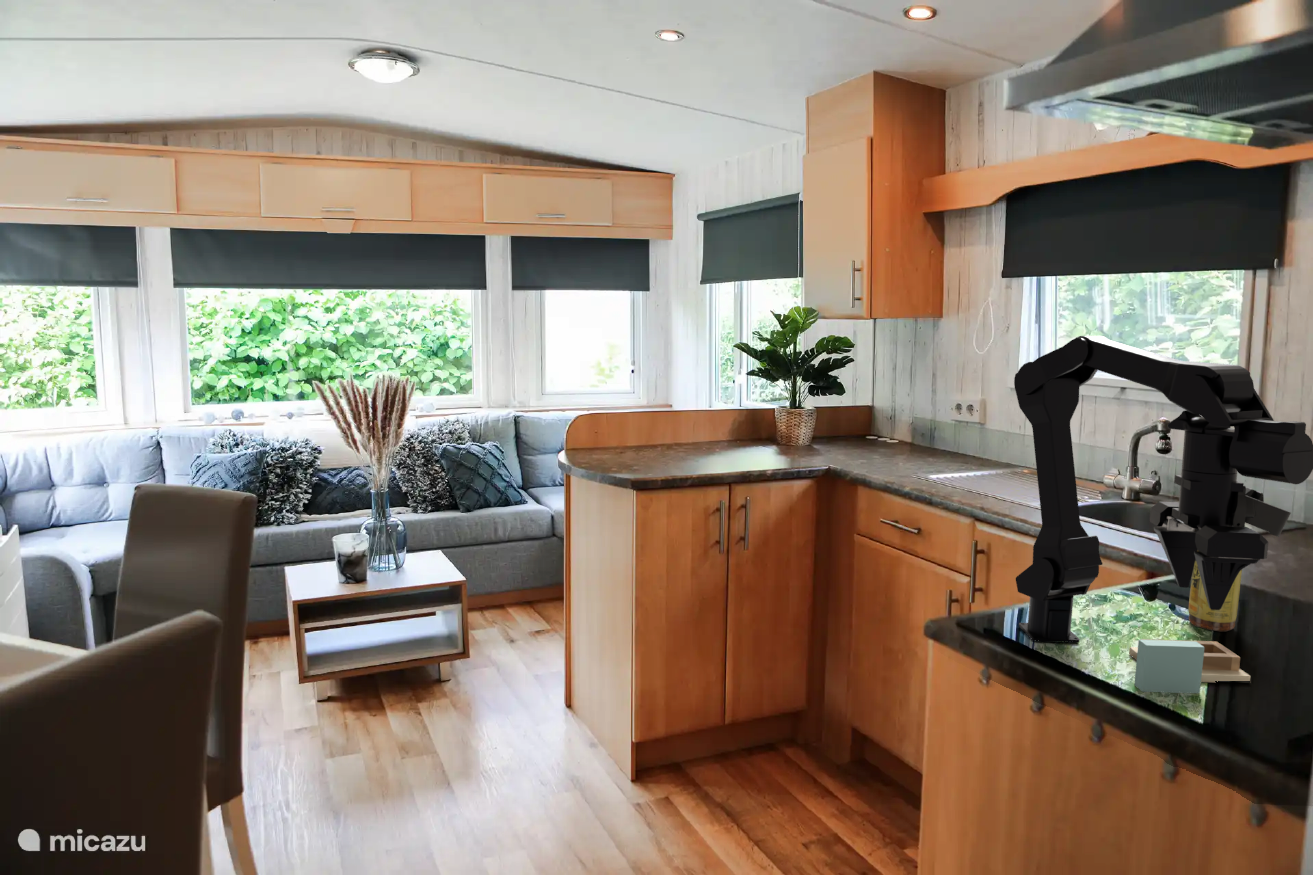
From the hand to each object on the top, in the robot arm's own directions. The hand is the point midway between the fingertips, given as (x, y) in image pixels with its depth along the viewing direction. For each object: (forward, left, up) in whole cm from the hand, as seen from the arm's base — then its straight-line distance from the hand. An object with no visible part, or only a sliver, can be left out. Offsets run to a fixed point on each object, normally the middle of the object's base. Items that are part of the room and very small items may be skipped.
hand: (1198, 597), depth 113 cm
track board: (-9, +4, -12) cm, 16 cm away
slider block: (-1, -2, -12) cm, 13 cm away
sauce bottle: (-25, +16, -13) cm, 33 cm away
